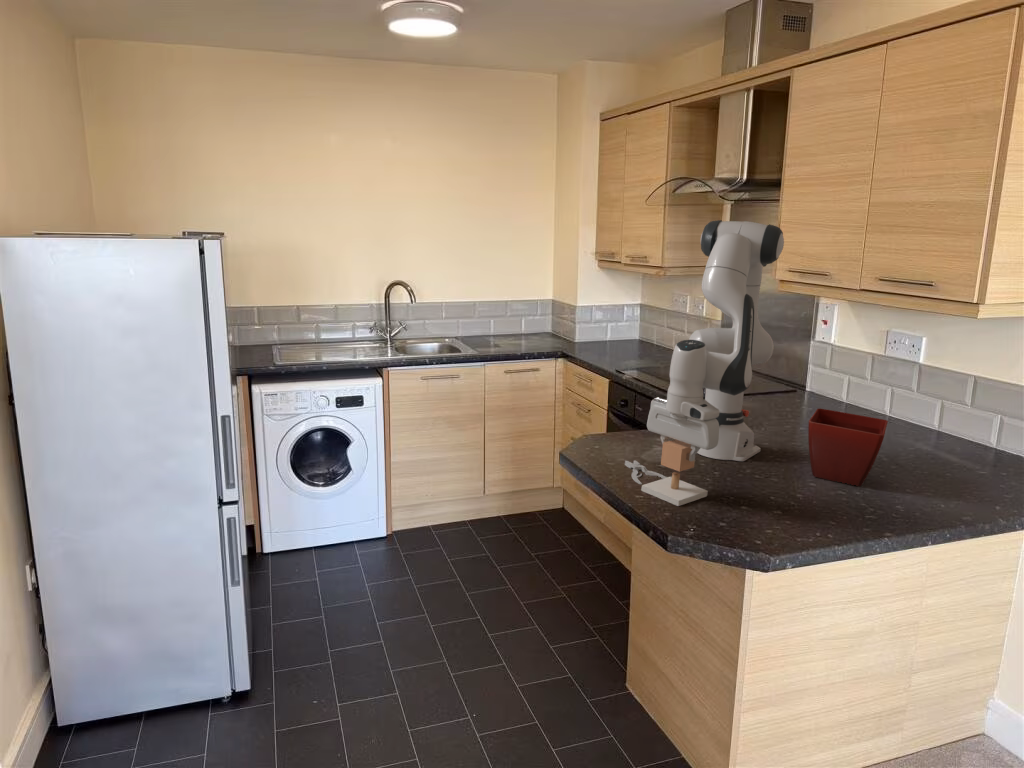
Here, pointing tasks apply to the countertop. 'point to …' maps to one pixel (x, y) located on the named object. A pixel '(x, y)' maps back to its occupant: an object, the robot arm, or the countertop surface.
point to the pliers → (637, 467)
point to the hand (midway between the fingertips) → (678, 456)
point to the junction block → (674, 490)
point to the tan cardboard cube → (676, 455)
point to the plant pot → (844, 445)
